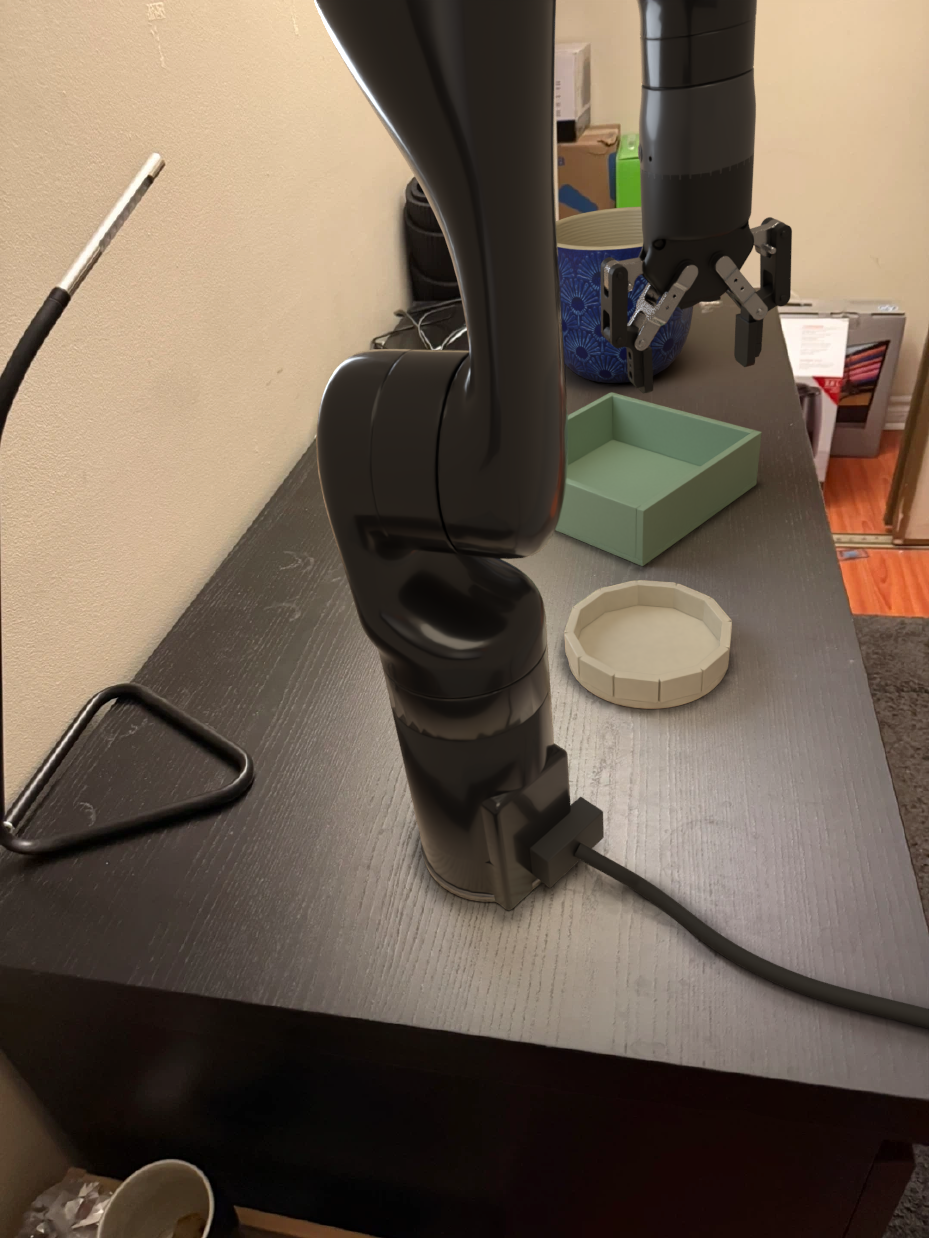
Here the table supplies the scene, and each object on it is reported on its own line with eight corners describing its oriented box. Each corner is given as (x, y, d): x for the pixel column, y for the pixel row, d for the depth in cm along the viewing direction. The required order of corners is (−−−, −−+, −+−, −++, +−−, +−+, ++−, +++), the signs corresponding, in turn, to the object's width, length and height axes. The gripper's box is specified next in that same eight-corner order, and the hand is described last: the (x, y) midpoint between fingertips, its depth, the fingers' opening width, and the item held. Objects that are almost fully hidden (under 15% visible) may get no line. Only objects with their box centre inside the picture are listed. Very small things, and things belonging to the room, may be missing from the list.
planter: (553, 347, 130) (547, 213, 118) (692, 340, 125) (699, 200, 114) (540, 402, 114) (531, 253, 102) (698, 396, 109) (707, 240, 98)
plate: (760, 647, 69) (763, 618, 67) (663, 734, 63) (665, 704, 61) (632, 591, 77) (632, 563, 75) (535, 662, 71) (533, 634, 69)
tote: (756, 484, 90) (762, 431, 86) (642, 566, 80) (643, 511, 76) (611, 440, 102) (611, 392, 99) (497, 506, 92) (492, 455, 89)
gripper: (616, 189, 54) (627, 418, 64) (824, 138, 55) (802, 371, 65) (578, 167, 60) (594, 380, 70) (767, 120, 61) (755, 338, 71)
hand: (694, 376), depth 68 cm, fingers open, 8 cm apart
